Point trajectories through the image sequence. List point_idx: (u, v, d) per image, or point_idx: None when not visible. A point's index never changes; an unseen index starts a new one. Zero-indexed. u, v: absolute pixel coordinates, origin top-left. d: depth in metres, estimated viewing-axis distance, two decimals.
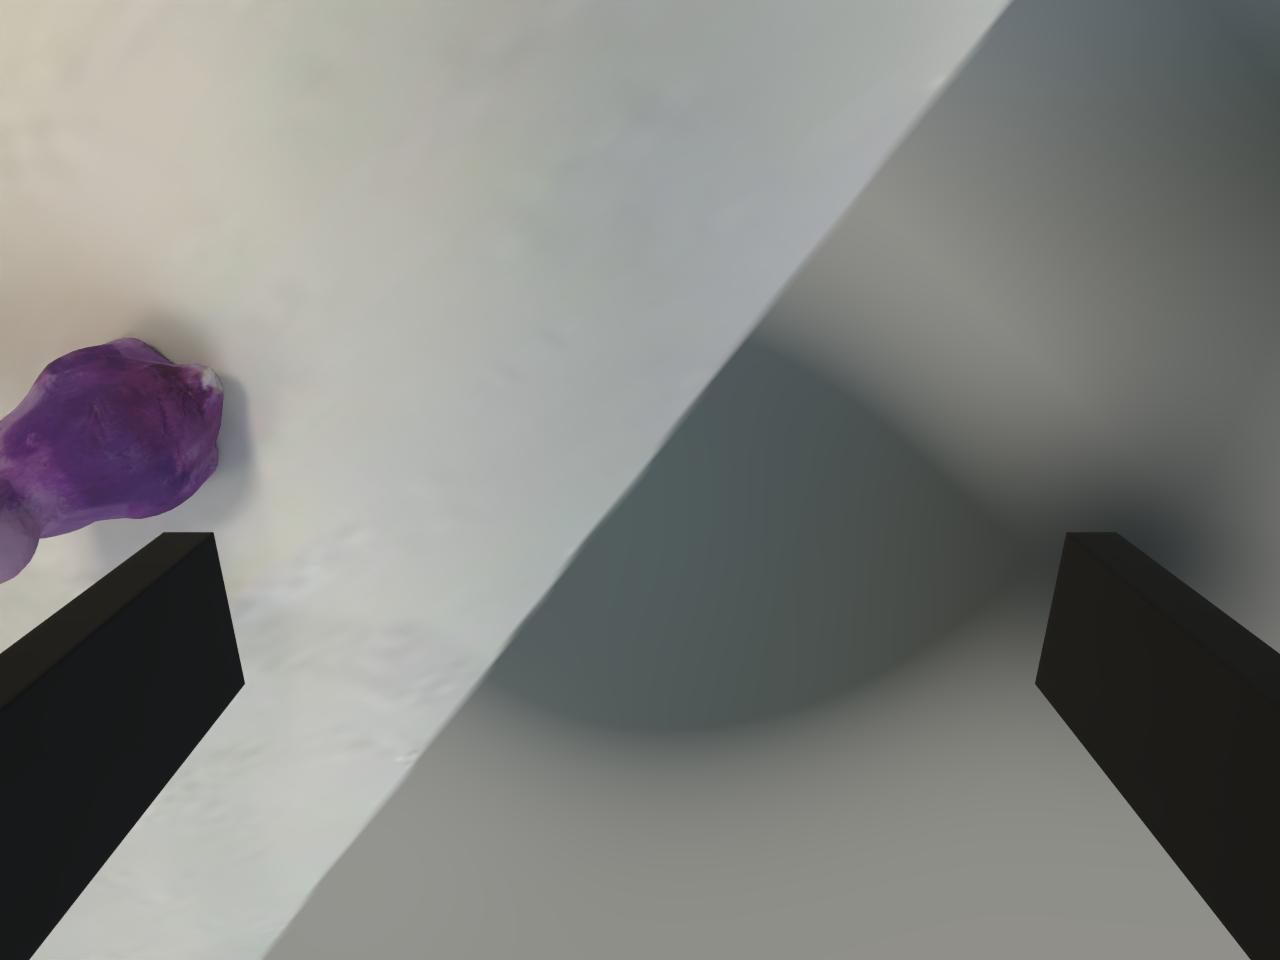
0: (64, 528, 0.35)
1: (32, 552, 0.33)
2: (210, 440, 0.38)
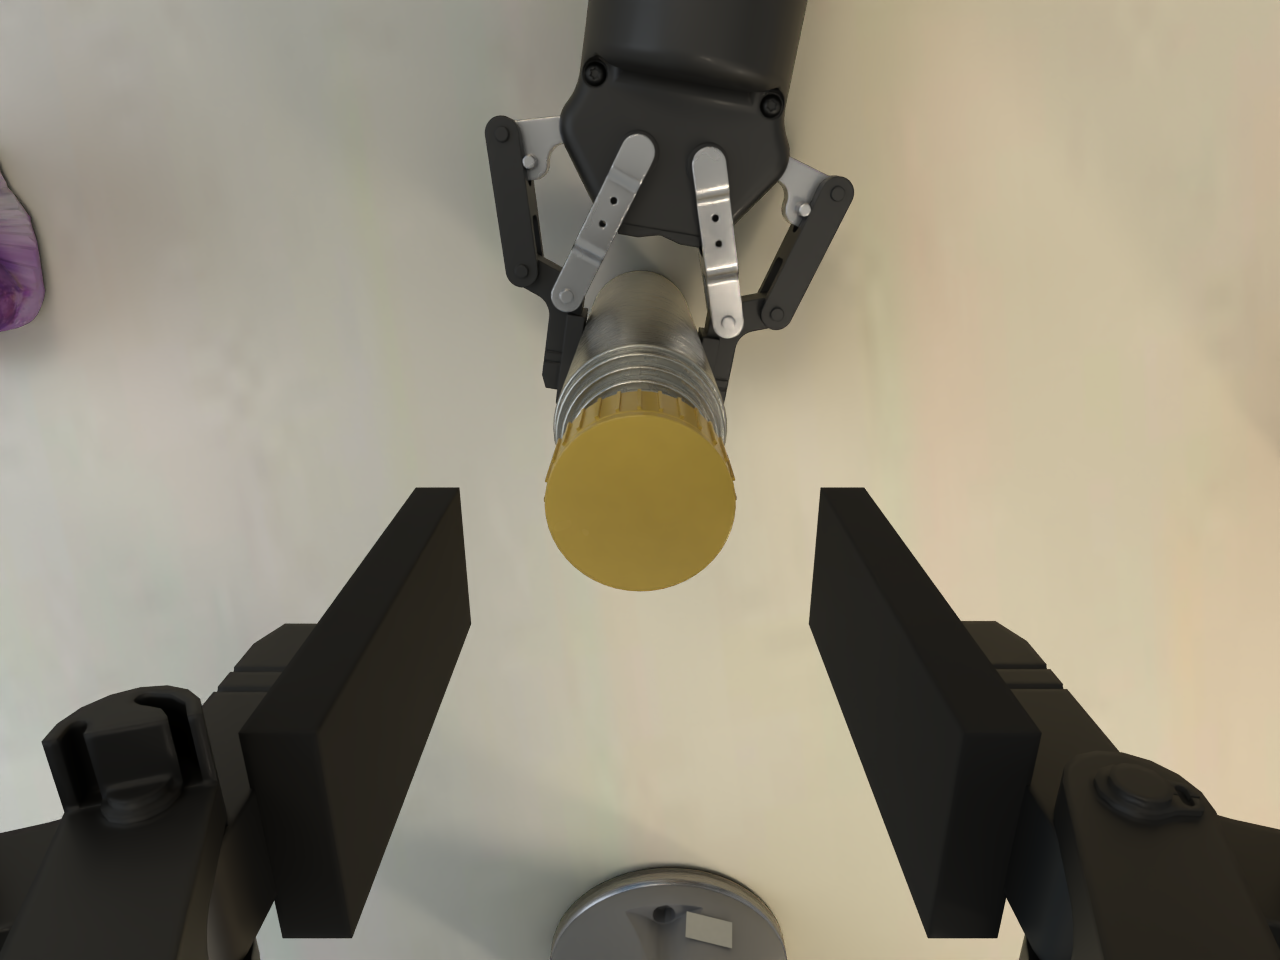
0: None
1: None
2: None
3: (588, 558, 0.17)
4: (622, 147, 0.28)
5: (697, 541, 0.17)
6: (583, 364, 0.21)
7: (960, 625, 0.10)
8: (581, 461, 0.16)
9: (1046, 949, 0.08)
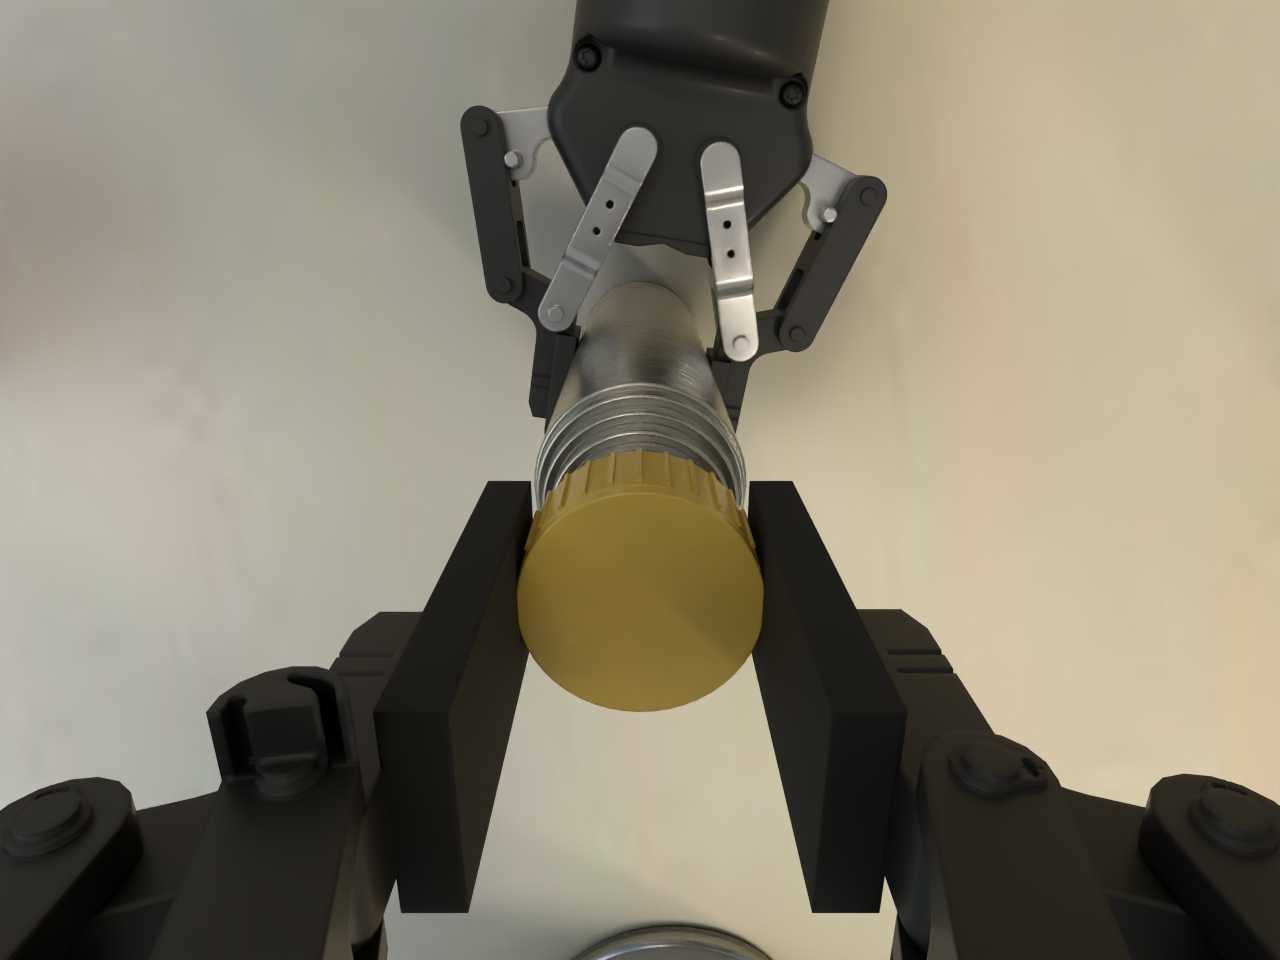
0: None
1: None
2: None
3: (573, 672, 0.13)
4: (619, 142, 0.24)
5: (714, 651, 0.13)
6: (570, 407, 0.17)
7: (854, 611, 0.10)
8: (563, 551, 0.12)
9: (914, 926, 0.08)
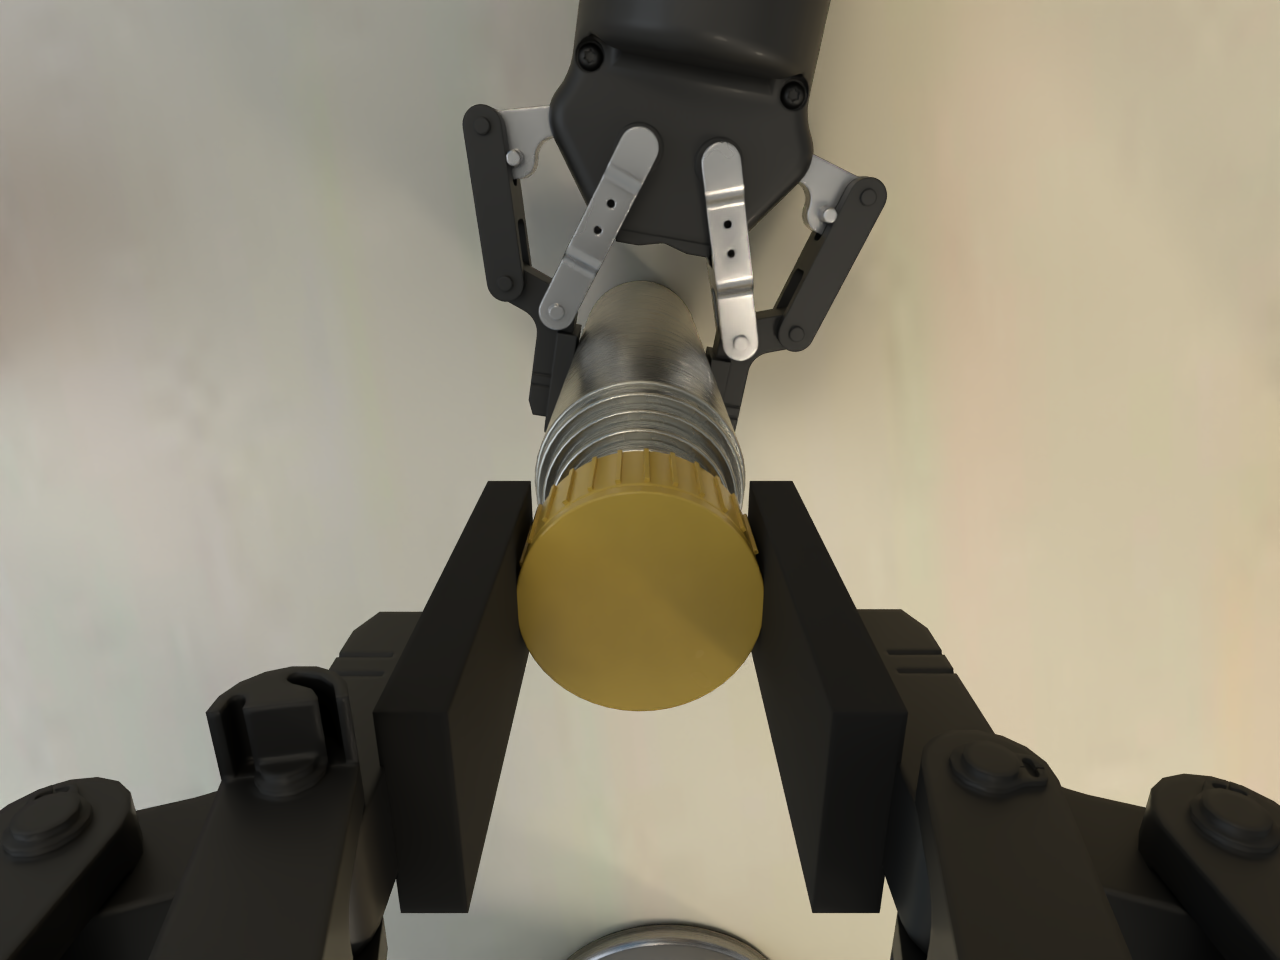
0: None
1: None
2: None
3: (733, 639, 0.13)
4: (621, 142, 0.24)
5: (657, 526, 0.12)
6: (571, 404, 0.17)
7: (854, 612, 0.10)
8: (610, 687, 0.13)
9: (914, 927, 0.08)
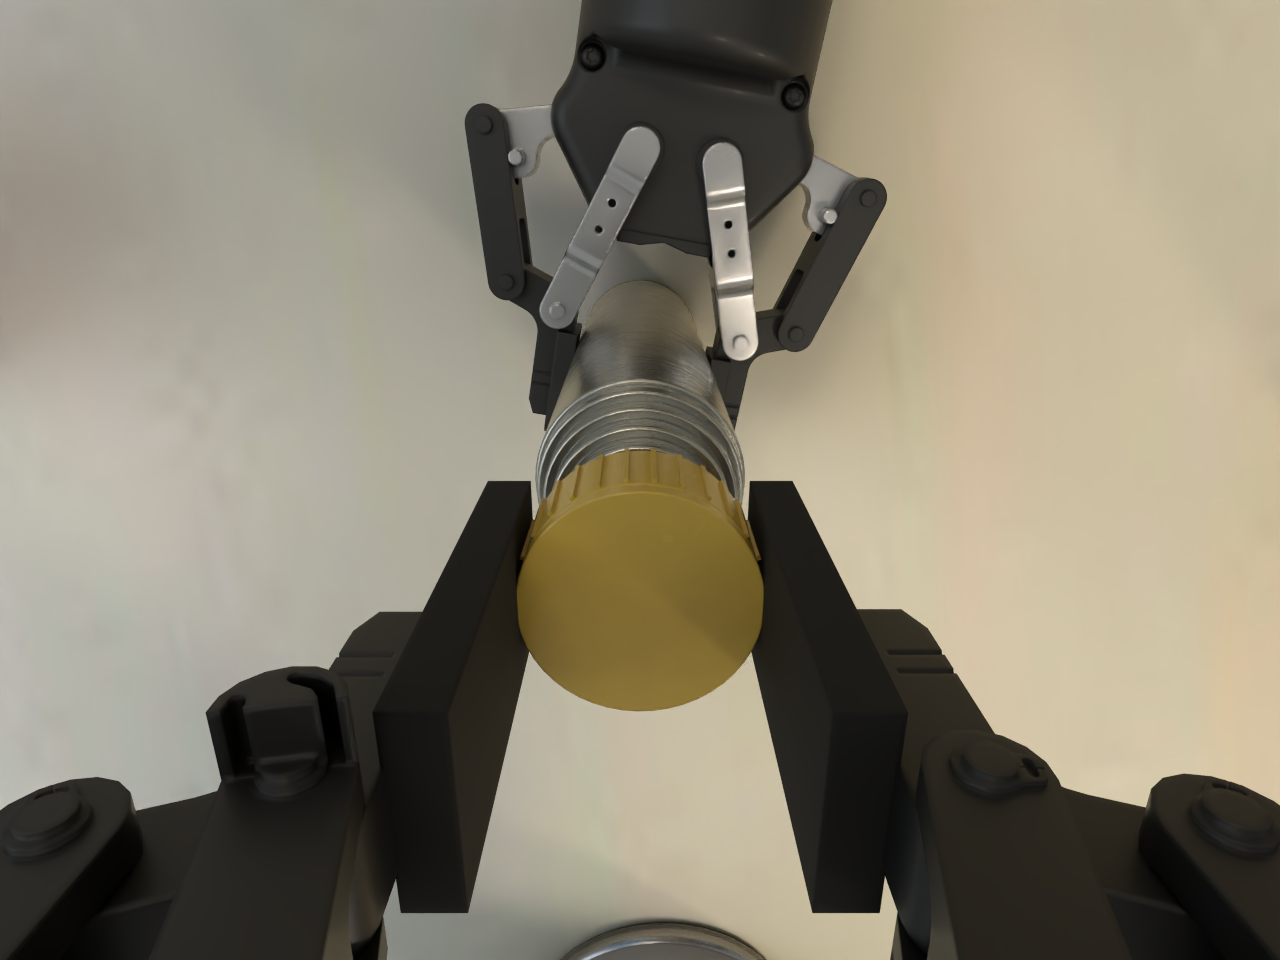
0: None
1: None
2: None
3: (637, 515, 0.12)
4: (622, 142, 0.24)
5: (552, 624, 0.13)
6: (572, 402, 0.17)
7: (854, 612, 0.10)
8: (739, 602, 0.12)
9: (914, 927, 0.08)
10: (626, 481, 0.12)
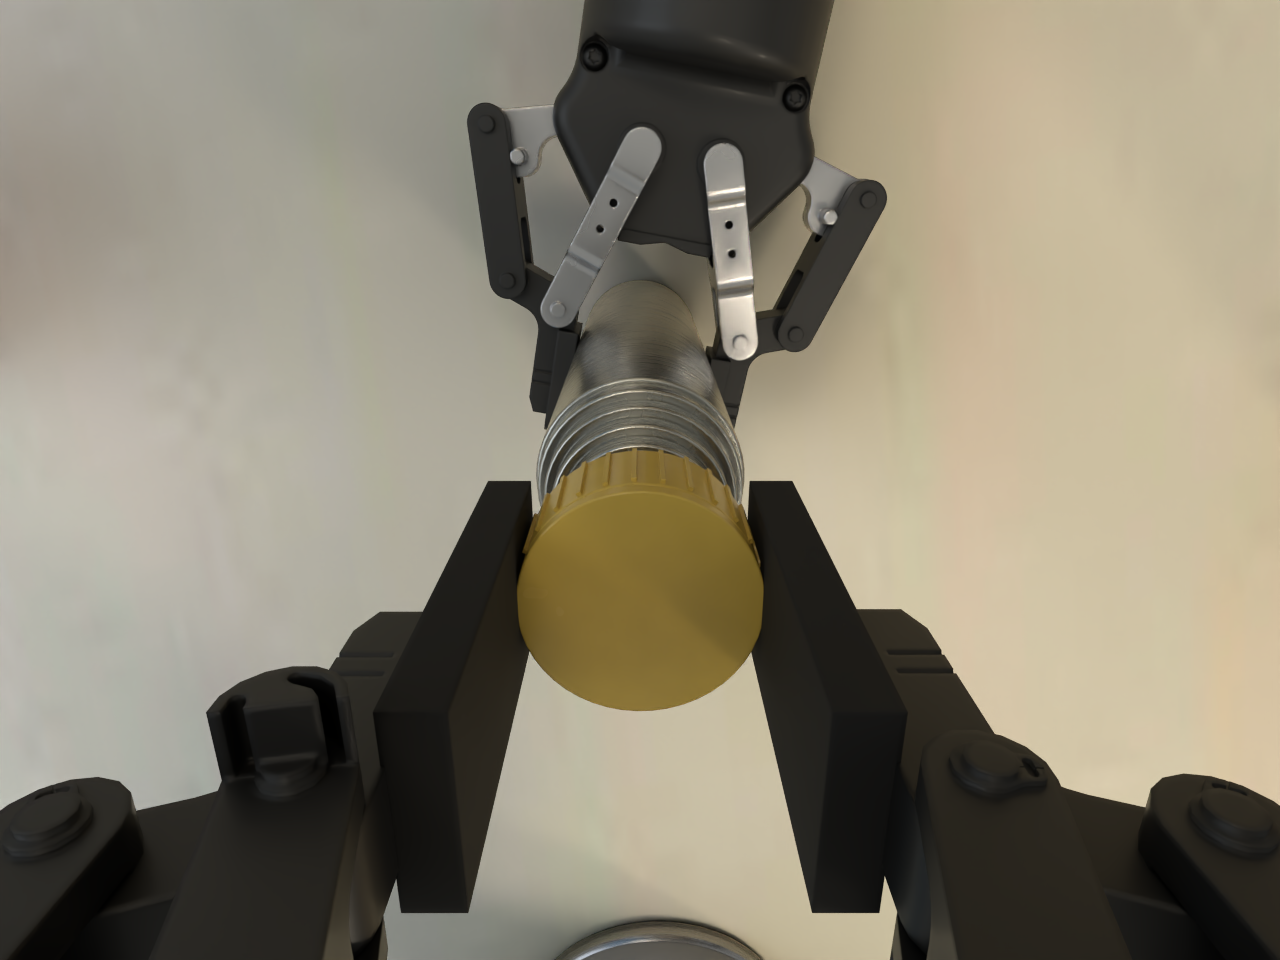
0: None
1: None
2: None
3: (549, 643, 0.13)
4: (624, 142, 0.24)
5: (689, 672, 0.13)
6: (573, 400, 0.17)
7: (854, 611, 0.10)
8: (595, 527, 0.12)
9: (914, 926, 0.08)
10: None
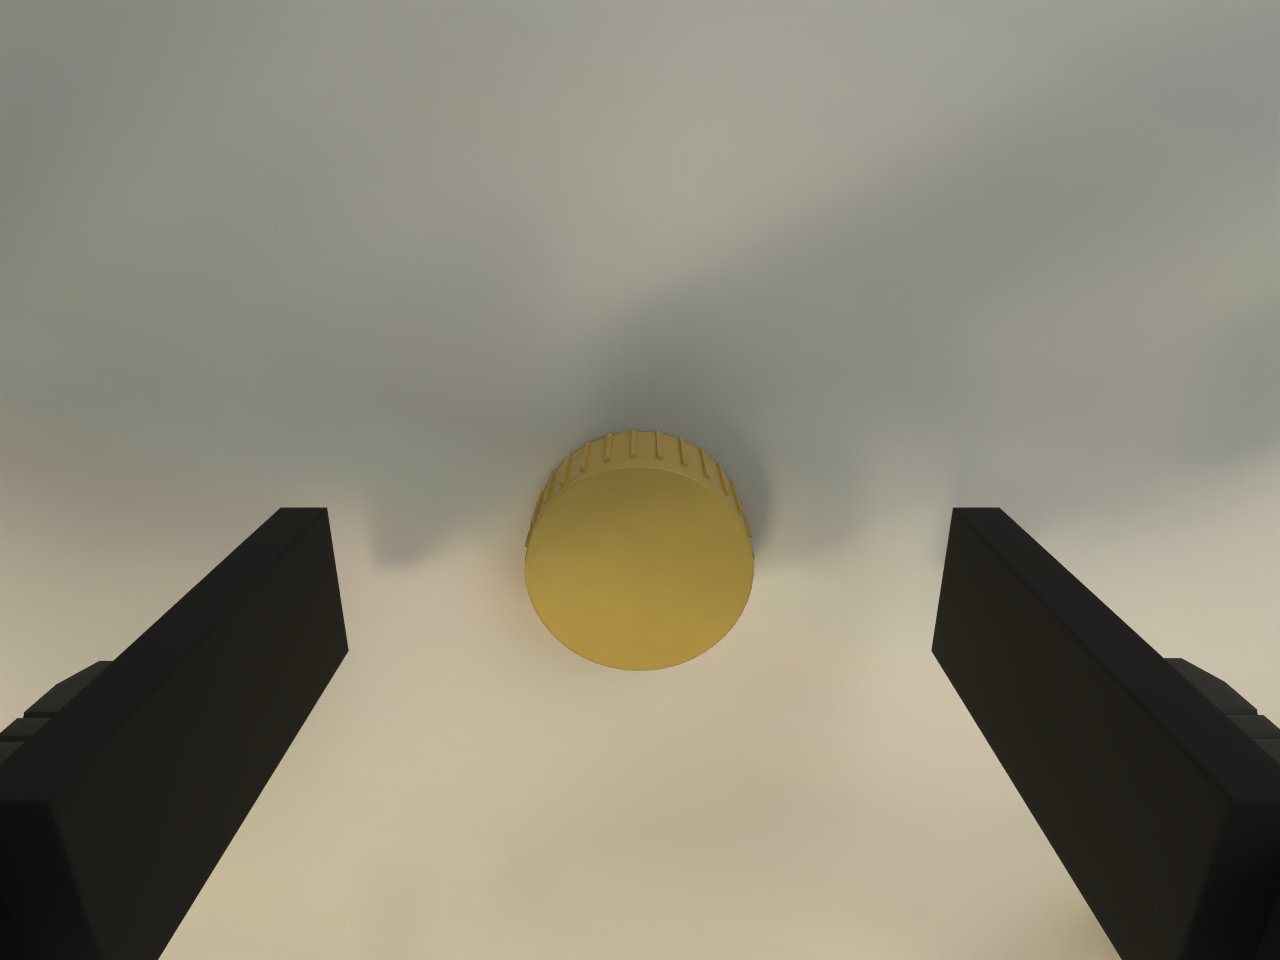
0: None
1: None
2: None
3: (555, 606, 0.14)
4: None
5: (684, 634, 0.14)
6: None
7: (1170, 668, 0.09)
8: (597, 499, 0.13)
9: None
10: None
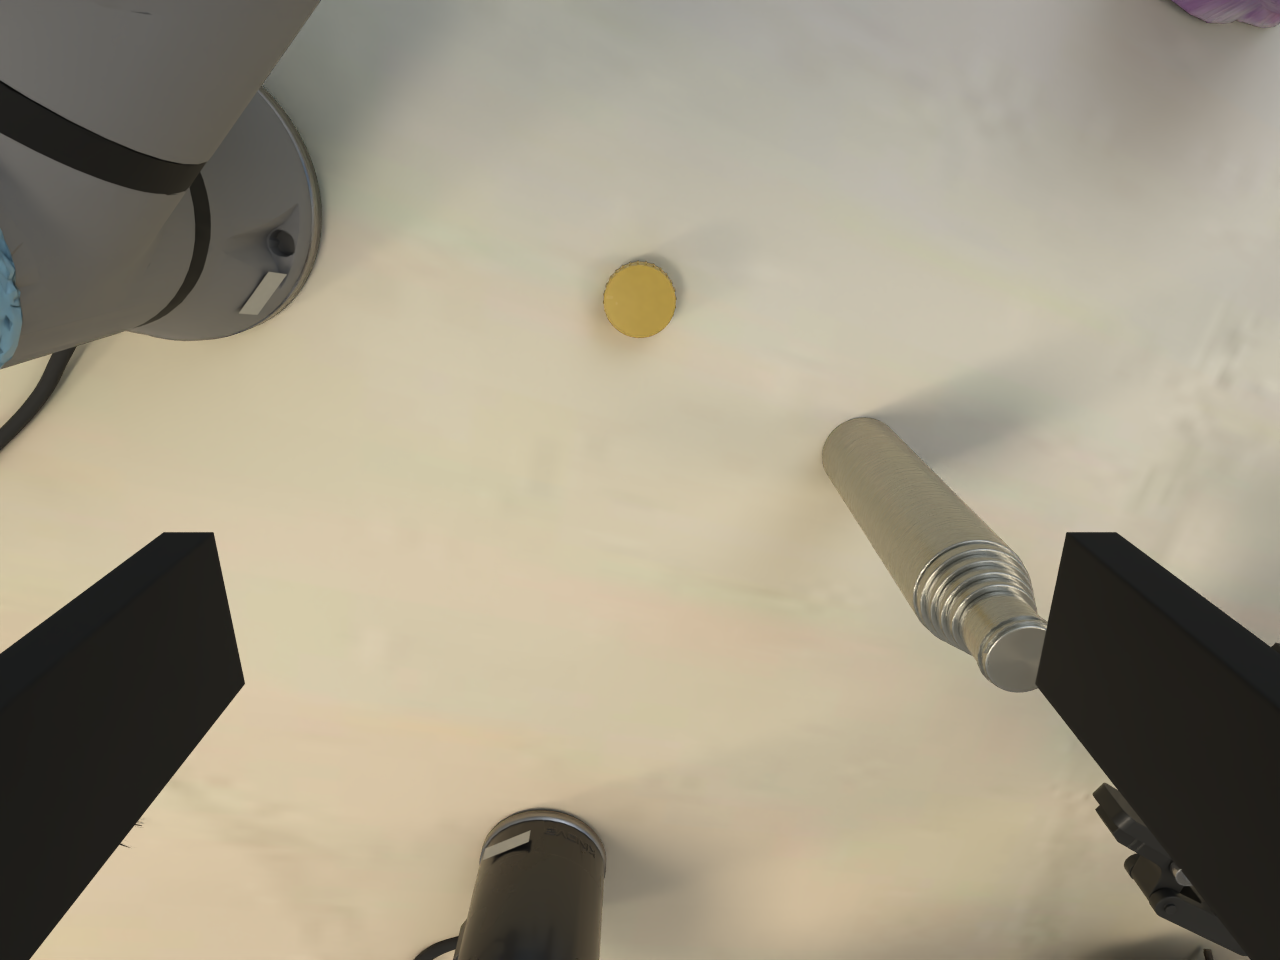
0: None
1: None
2: None
3: (613, 313, 0.44)
4: None
5: (654, 323, 0.44)
6: None
7: None
8: (627, 276, 0.43)
9: None
10: None
